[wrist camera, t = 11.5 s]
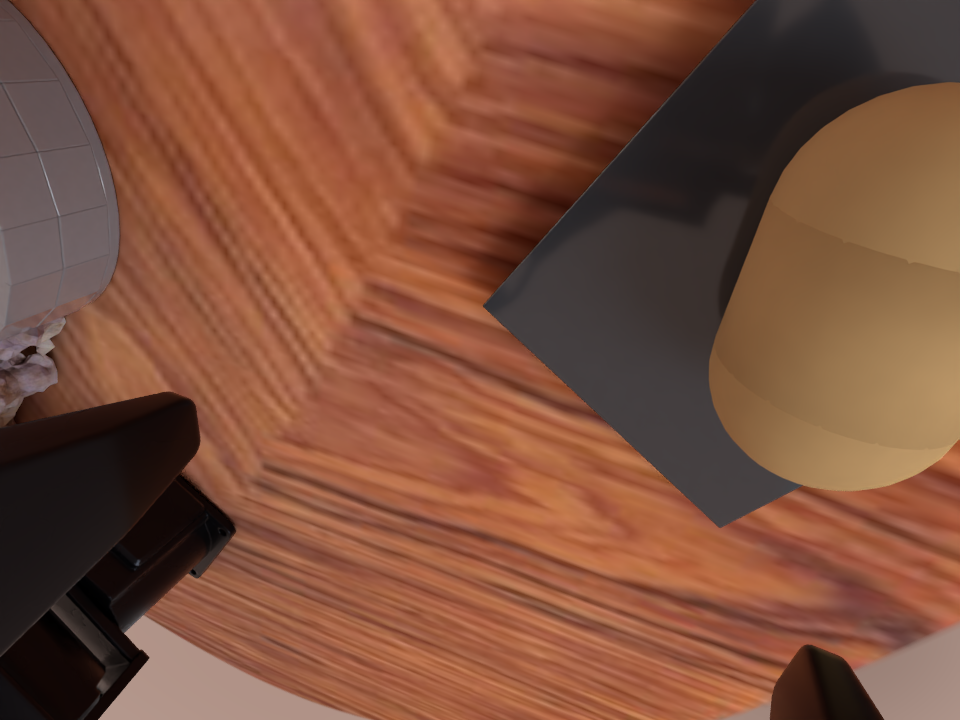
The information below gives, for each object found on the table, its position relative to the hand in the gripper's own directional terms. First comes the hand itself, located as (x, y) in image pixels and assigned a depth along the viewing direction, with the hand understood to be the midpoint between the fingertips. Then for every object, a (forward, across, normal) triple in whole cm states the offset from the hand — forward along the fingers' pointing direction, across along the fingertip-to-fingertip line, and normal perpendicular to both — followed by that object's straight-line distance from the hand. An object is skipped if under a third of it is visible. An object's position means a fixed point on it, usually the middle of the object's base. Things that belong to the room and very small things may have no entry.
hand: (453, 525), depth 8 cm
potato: (+9, -5, -2) cm, 11 cm away
